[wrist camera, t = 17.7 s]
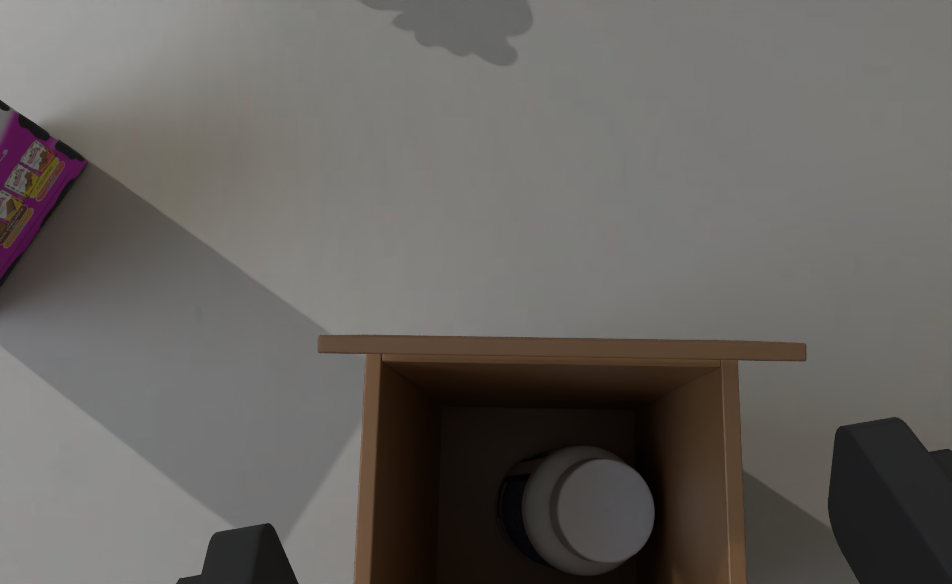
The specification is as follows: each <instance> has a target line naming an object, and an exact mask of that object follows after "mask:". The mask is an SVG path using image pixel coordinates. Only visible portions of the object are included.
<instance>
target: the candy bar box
mask: <svg viewBox="0 0 952 584" xmlns="http://www.w3.org/2000/svg"><path fill="white" fill-rule="evenodd" d="M86 163H87V159H86V158H84V157H83V156H82V155H80V154H79V153H78V152H76V151H75V150H73V149H72V148H70V147H69V146H67V145H66V144H65V143H63V142H61V141H60V140H59V139H57V138H56V137H54V136H53V135H51V134H50V133H48V132H47V131H45V130H44V129H42V128H41V127H39V126H38V125H36V124H35V123H34V122H32V121H31V120H29V119H28V118H26V117H25V116H23V115H22V114H20V113H19V112H17V111H16V110H14V109H13V108H11V107H10V106H8V105H7V104H5V103H4V102H2V101H1V100H0V286H1V284H2V283H3V281H4V280H5V278H6V277H7V275H8V274H9V273H10V271H11V270H12V268H13V267H14V265H15V264H16V263H17V261H18V260H19V258H20V257H21V255H22V254H23V253H24V251H25V250H26V248H27V247H28V245H29V244H30V242H31V241H32V239H33V238H34V237H35V235H36V234H37V232H38V231H39V229H40V228H41V227H42V225H43V224H44V222H45V221H46V219H47V218H48V217H49V215H50V214H51V212H52V211H53V209H54V208H55V207H56V205H57V204H58V203H59V201H60V200H61V198H62V197H63V196H64V194H65V193H66V191H67V190H68V189H69V187H70V186H71V184H72V183H73V181H74V180H75V178H76V177H77V176H78V174H79V173H80V172H81V170H82V169H83V167H84V166H85V165H86Z"/></svg>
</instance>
